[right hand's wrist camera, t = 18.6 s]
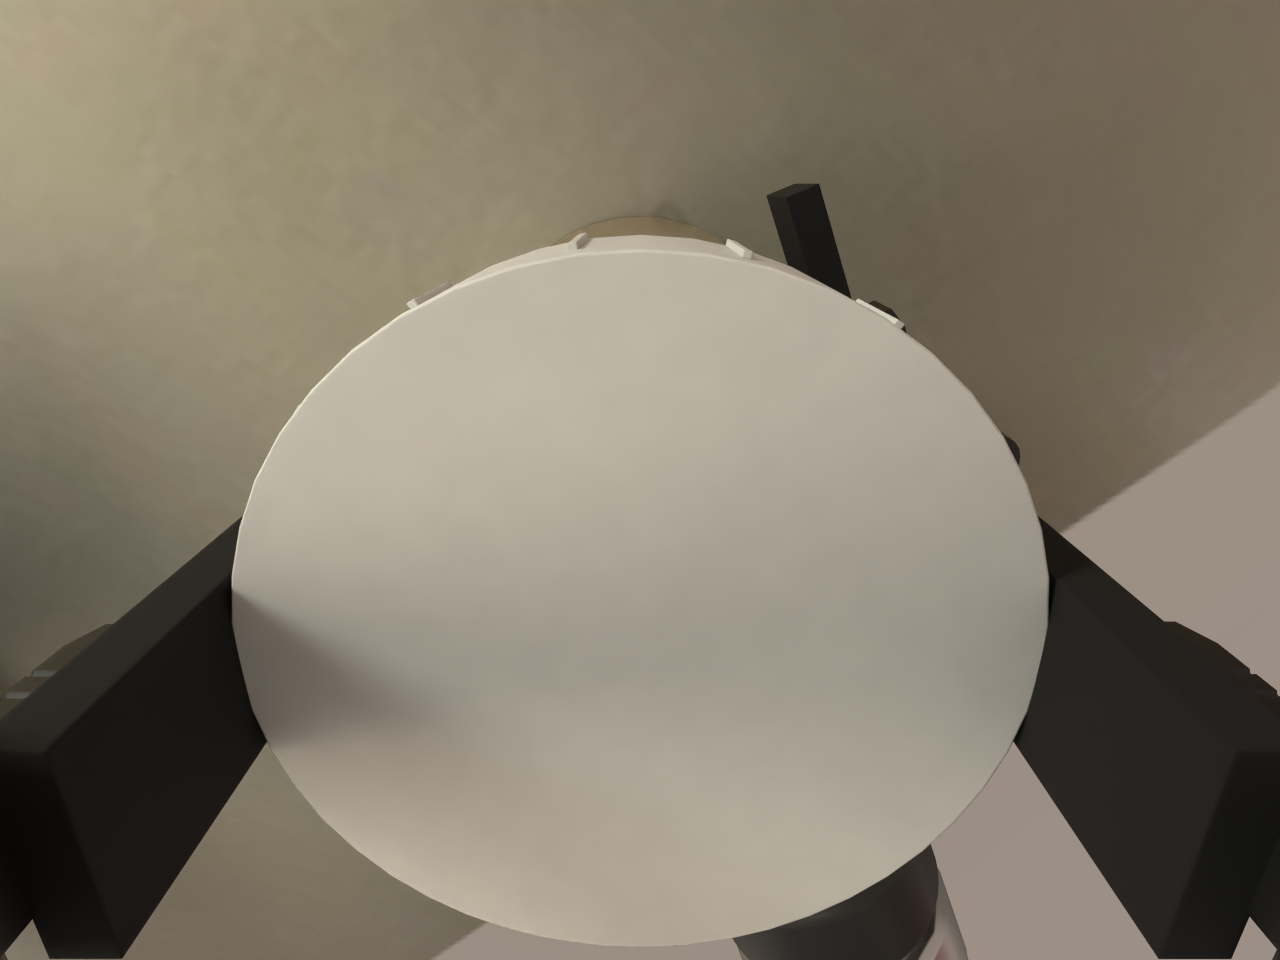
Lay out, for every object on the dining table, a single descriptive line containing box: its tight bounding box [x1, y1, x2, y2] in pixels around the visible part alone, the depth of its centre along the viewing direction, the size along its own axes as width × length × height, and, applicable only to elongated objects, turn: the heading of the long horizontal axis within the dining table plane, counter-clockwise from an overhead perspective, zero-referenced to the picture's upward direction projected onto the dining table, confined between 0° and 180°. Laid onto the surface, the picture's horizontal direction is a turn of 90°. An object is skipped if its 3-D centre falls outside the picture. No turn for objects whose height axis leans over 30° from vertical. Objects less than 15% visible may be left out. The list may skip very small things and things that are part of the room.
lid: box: [232, 233, 1049, 947], centre depth 11 cm, size 11×11×2 cm
